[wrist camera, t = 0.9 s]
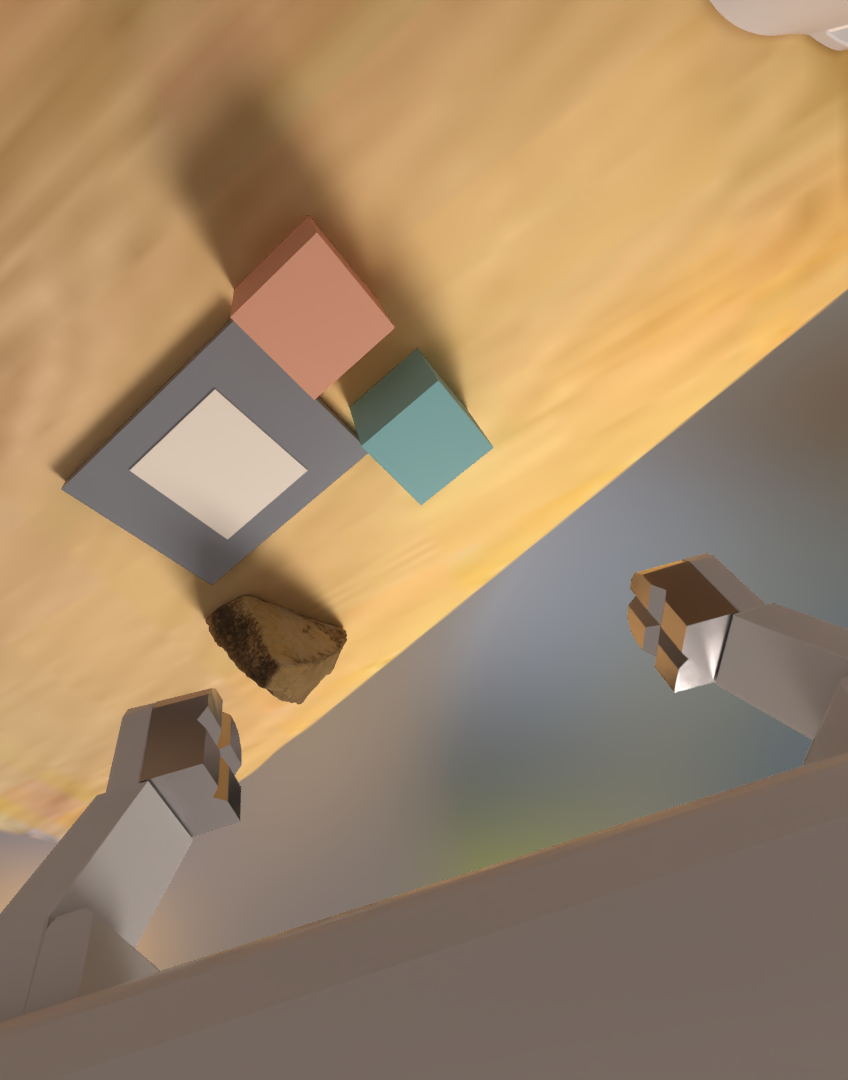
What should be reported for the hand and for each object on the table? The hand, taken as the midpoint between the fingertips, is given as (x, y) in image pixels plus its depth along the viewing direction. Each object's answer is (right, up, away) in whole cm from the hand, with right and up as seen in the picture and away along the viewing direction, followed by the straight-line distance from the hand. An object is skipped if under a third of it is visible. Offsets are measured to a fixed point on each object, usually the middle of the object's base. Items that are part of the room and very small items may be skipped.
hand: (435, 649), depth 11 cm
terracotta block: (-7, +17, +24) cm, 30 cm away
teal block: (-1, +11, +30) cm, 32 cm away
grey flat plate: (-14, +7, +29) cm, 33 cm away
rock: (-12, -5, +39) cm, 41 cm away
